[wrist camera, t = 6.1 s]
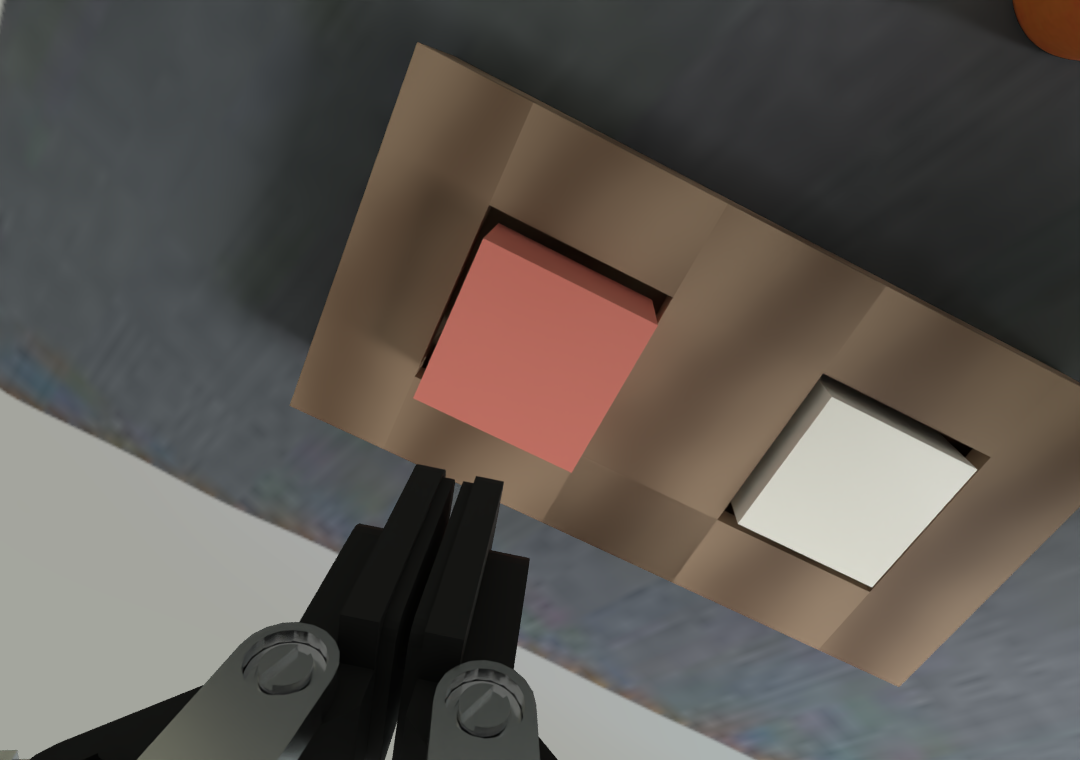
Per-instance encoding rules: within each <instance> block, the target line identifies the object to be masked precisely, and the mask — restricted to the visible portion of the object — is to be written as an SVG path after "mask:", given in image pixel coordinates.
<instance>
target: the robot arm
mask: <svg viewBox="0 0 1080 760" xmlns="http://www.w3.org/2000/svg"><path fill="white" fill-rule="evenodd" d="M503 485H504V481H499V480H494V479H490V478H485V477H480V476H476V477H475V480H474V483H471V482H466V481H463V483H462V486H461V489H460V492H459V494H458V497H457V500H456V503H455V505H454V508H453V511H452V514H451V517H450V512H451V505H452V499H453V492H454V486H455V479H451V478H446V470H445V469H440V468H435V467H430V466H426V465H421V464H417V465H416V466H415V468H414V470H413V472H412V474H411V476H410V478H409V480H408V482H407V484H406V486H405V488H404V490H403V492H402V493H401V495H400V497H399V499H398V501H397V503H396V505H395V507H394V509H393V511H392V513H391V515H390V517H389V519H388V521H387V523H386V525H385V527H384V528H379V527H374V526H369V525H364V524H358V525H356V526H355V528H354V529H353V531H352V532H351V534H350V536H349V538H348V539H347V541H346V543H345V544H344V546H343V548H342V550H341V551H340V553H339V555H338V556H337V558H336V560H335V562H334V563H333V565H332V567H331V569H330V570H329V572H328V574H327V575H326V577H325V579H324V581H323V582H322V584H321V586H320V587H319V589H318V591H317V593H316V595H315V596H314V598H313V599H312V601H311V603H310V605H309V606H308V608H307V610H306V612H305V613H304V615H303V617H302V618H301V620H300V622H294V623H293V622H291V623H280V624H277V625H273V626H269V627H266V628H264V629H262V630H260V631H258V632H256V633H254V634H252V635H251V636H250V637H249V638H247V639H246V640H245V641H244V642H243V643H242V644H240V645H239V646H238V648H237V649H236V650H235V651H234V652H233V653H232V654H231V655H230V656H229V658H228V659H227V660H226V661H225V662H224V663H223V664H222V665H221V667H220V668H219V669H218V670H217V671H216V672H215V673H214V674H213V675H212V676H211V678H210V679H209V680H208V681H207V682H206V683H205V684H204V685H202V686H200V687H197V688H195V689H193V690H190V691H188V692H185V693H182V694H180V695H177V696H175V697H173V698H170V699H167V700H165V701H163V702H160V703H157V704H155V705H152V706H150V707H148V708H145V709H142V710H140V711H138V712H135V713H132V714H130V715H127V716H125V717H123V718H120V719H118V720H115V721H113V722H110V723H107V724H105V725H102V726H100V727H97V728H95V729H92V730H90V731H88V732H85V733H83V734H80V735H77V736H75V737H73V738H70V739H67V740H65V741H63V742H60V743H58V744H56V745H54V746H52V747H50V748H48V749H46V750H44V751H42V752H40V753H38V754H36V755H35V756H34V757H32V758H31V759H19V756H18V751H17V750H2V751H0V760H385V757H386V754H387V751H388V748H389V745H390V742H391V739H392V736H393V732H394V729H395V726H396V723H397V728H396V735H395V743H394V750H393V758H392V760H557V758H556V757H555V756H554V755H553V754H552V752H551V751H550V750H549V749H548V748H547V746H546V745H545V744H544V743H543V741H542V740H541V739H540V738H539V737H538V724H537V710H536V702H535V698H534V695H533V691H532V690H531V688H530V687H529V685H528V683H527V682H526V680H525V679H524V678H523V677H522V676H521V675H519V674H518V673H517V672H516V671H515V670H514V663H515V656H516V649H517V643H518V636H519V629H520V622H521V616H522V609H523V602H524V595H525V588H526V582H527V575H528V568H529V561H530V558H526V557H521V556H516V555H511V554H507V553H502V552H497V551H492V550H491V548H492V543H493V538H494V533H495V528H496V522H497V517H498V512H499V507H500V501H501V496H502V491H503ZM449 518H450V519H449ZM397 720H398V721H397Z"/></svg>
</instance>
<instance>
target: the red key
mask: <svg viewBox="0 0 1080 760" xmlns="http://www.w3.org/2000/svg"><path fill="white" fill-rule="evenodd" d="M657 326H658V323H657V319H656V315H655V310H654V306H653V302H652V300H651V299H649V298H647V297H645V296H643V295H641V294H639V293H637V292H635V291H633V290H631V289H629V288H627V287H625V286H623V285H621V284H619V283H617V282H615V281H613V280H611V279H609V278H607V277H605V276H603V275H601V274H599V273H597V272H595V271H593V270H591V269H589V268H587V267H585V266H583V265H581V264H579V263H577V262H575V261H573V260H571V259H569V258H567V257H565V256H563V255H562V254H560V253H558V252H556V251H554V250H552V249H550V248H548V247H546V246H544V245H542V244H540V243H538V242H536V241H534V240H532V239H530V238H528V237H526V236H524V235H522V234H520V233H518V232H516V231H514V230H512V229H510V228H508V227H506V226H504V225H502V224H500V223H498V224H497V225H496V226H495V227H494V228H493V229H492V230H491V231H490V232H489V233H488V234H487V235H486V236H485V237H484V238H483V240H482V242H481V245H480V247H479V249H478V252H477V254H476V256H475V258H474V261H473V263H472V265H471V268H470V270H469V272H468V274H467V277H466V279H465V281H464V283H463V286H462V288H461V290H460V293H459V295H458V297H457V299H456V302H455V304H454V306H453V309H452V311H451V313H450V315H449V318H448V320H447V322H446V324H445V327H444V329H443V331H442V334H441V336H440V338H439V340H438V343H437V345H436V347H435V350H434V352H433V354H432V356H431V359H430V361H429V363H428V365H427V368H426V370H425V372H424V375H423V377H422V379H421V381H420V384H419V386H418V388H417V391H416V393H415V395H414V397H413V398H414V399H416V400H418V401H420V402H422V403H424V404H426V405H428V406H431V407H433V408H435V409H437V410H439V411H441V412H443V413H445V414H448V415H450V416H452V417H454V418H456V419H458V420H460V421H462V422H465V423H467V424H469V425H471V426H473V427H475V428H477V429H479V430H482V431H484V432H486V433H488V434H490V435H492V436H494V437H496V438H499V439H501V440H503V441H505V442H507V443H509V444H511V445H513V446H516V447H518V448H520V449H522V450H524V451H526V452H528V453H530V454H533V455H535V456H537V457H539V458H541V459H543V460H545V461H547V462H550V463H552V464H554V465H556V466H558V467H560V468H562V469H564V470H567V471H569V472H571V473H572V471H573V470H574V468H575V466H576V464H577V463H578V461H579V459H580V458H581V456H582V454H583V453H584V451H585V449H586V447H587V446H588V444H589V442H590V441H591V439H592V437H593V435H594V434H595V432H596V430H597V429H598V427H599V425H600V423H601V422H602V420H603V418H604V417H605V415H606V413H607V412H608V410H609V408H610V406H611V405H612V403H613V401H614V400H615V398H616V396H617V394H618V393H619V391H620V389H621V388H622V386H623V384H624V383H625V381H626V379H627V377H628V376H629V374H630V372H631V371H632V369H633V367H634V365H635V364H636V362H637V360H638V359H639V357H640V355H641V353H642V352H643V350H644V348H645V347H646V345H647V343H648V342H649V340H650V338H651V336H652V335H653V333H654V331H655V330H656V328H657Z"/></svg>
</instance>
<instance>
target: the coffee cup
mask: <svg viewBox="0 0 1080 760" xmlns="http://www.w3.org/2000/svg"><path fill="white" fill-rule="evenodd" d="M1013 6H1014V11H1015V14H1016V17H1017V20H1018V22H1019V24H1020V26H1021V28H1022V30H1023V31H1024V33H1025V34H1026V35H1027V37H1028V38H1029V39H1030V40H1031V41H1032V42H1033V43H1034V44H1035V45H1036V46H1038V47H1039V48H1041V49H1042V50H1044V51H1046V52H1047V53H1050V54H1052V55H1054V56H1058V57H1061V58H1065V59H1070V60H1079V61H1080V0H1013Z"/></svg>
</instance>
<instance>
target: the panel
mask: <svg viewBox="0 0 1080 760" xmlns="http://www.w3.org/2000/svg"><path fill="white" fill-rule="evenodd" d="M498 223H500V224H502V225H504V226H506V227H508V228H510V229H512V230H514V231H516V232H518V233H520V234H522V235H524V236H526V237H528V238H530V239H532V240H534V241H536V242H538V243H540V244H542V245H544V246H546V247H548V248H550V249H552V250H554V251H556V252H558V253H560V254H562V255H563V256H565V257H567V258H569V259H571V260H573V261H575V262H577V263H579V264H581V265H583V266H585V267H587V268H589V269H591V270H593V271H595V272H597V273H599V274H601V275H603V276H605V277H607V278H609V279H611V280H613V281H615V282H617V283H619V284H621V285H623V286H625V287H627V288H629V289H631V290H633V291H635V292H637V293H639V294H641V295H643V296H645V297H647V298H649V299H651V300H652V302H653V306H654V310H655V315H656V319H657V323H658V326H657V328H656V330H655V331H654V333H653V335H652V336H651V338H650V340H649V342H648V343H647V345H646V347H645V348H644V350H643V352H642V353H641V355H640V357H639V359H638V360H637V362H636V364H635V365H634V367H633V369H632V371H631V372H630V374H629V376H628V377H627V379H626V381H625V383H624V384H623V386H622V388H621V389H620V391H619V393H618V394H617V396H616V398H615V400H614V401H613V403H612V405H611V406H610V408H609V410H608V412H607V413H606V415H605V417H604V418H603V420H602V422H601V423H600V425H599V427H598V429H597V430H596V432H595V434H594V435H593V437H592V439H591V441H590V442H589V444H588V446H587V447H586V449H585V451H584V453H583V454H582V456H581V458H580V459H579V461H578V463H577V464H576V466H575V468H574V470H573V471H572V473H571V472H569V471H567V470H564V469H562V468H560V467H558V466H556V465H554V464H552V463H550V462H547V461H545V460H543V459H541V458H539V457H537V456H535V455H533V454H530V453H528V452H526V451H524V450H522V449H520V448H518V447H516V446H513V445H511V444H509V443H507V442H505V441H503V440H501V439H499V438H496V437H494V436H492V435H490V434H488V433H486V432H484V431H482V430H479V429H477V428H475V427H473V426H471V425H469V424H467V423H465V422H462V421H460V420H458V419H456V418H454V417H452V416H450V415H448V414H445V413H443V412H441V411H439V410H437V409H435V408H433V407H431V406H428V405H426V404H424V403H422V402H420V401H418V400H416V399H414V398H413V397H414V395H415V393H416V391H417V388H418V386H419V384H420V381H421V379H422V377H423V375H424V372H425V370H426V368H427V365H428V363H429V361H430V359H431V356H432V354H433V352H434V350H435V347H436V345H437V343H438V340H439V338H440V336H441V334H442V331H443V329H444V327H445V324H446V322H447V320H448V318H449V315H450V313H451V311H452V309H453V306H454V304H455V302H456V299H457V297H458V295H459V293H460V290H461V288H462V286H463V283H464V281H465V279H466V277H467V274H468V272H469V270H470V268H471V265H472V263H473V261H474V258H475V256H476V254H477V252H478V249H479V247H480V245H481V242H482V240H483V238H484V237H485V236H486V235H487V234H488V233H489V232H490V231H491V230H492V229H493V228H494V227H495V226H496V225H497V224H498ZM822 374H824V375H826V376H828V377H830V378H832V379H834V380H836V381H838V382H840V383H842V384H844V385H846V386H848V387H850V388H852V389H854V390H856V391H858V392H860V393H862V394H864V395H866V396H868V397H870V398H872V399H874V400H876V401H878V402H880V403H882V404H884V405H886V406H888V407H890V408H892V409H894V410H896V411H898V412H900V413H902V414H904V415H906V416H908V417H910V418H912V419H914V420H916V421H918V422H920V423H922V424H924V425H926V426H928V427H930V428H932V429H934V430H936V431H938V432H939V433H940V434H941V435H942V436H943V437H944V438H945V439H946V440H947V441H948V442H949V443H950V444H951V445H952V446H953V447H955V448H956V449H957V450H958V451H959V452H960V453H961V454H962V455H963V456H964V457H965V458H966V459H967V460H968V461H969V462H970V463H971V464H972V465H973V466H974V467H975V468H976V469H977V471H976V472H975V473H974V474H973V475H972V476H971V477H970V479H969V480H968V481H967V482H966V483H965V484H964V485H963V486H962V487H961V489H960V490H959V491H958V492H957V493H956V494H955V495H954V496H953V498H952V499H951V500H950V501H949V502H948V503H947V504H946V505H945V506H944V508H943V509H942V510H941V511H940V512H939V513H938V514H937V515H936V517H935V518H934V519H933V520H932V521H931V522H930V523H929V524H928V525H927V527H926V528H925V529H924V530H923V531H922V532H921V533H920V534H919V536H918V537H917V538H916V539H915V540H914V541H913V542H912V543H911V544H910V546H909V547H908V548H907V549H906V550H905V551H904V552H903V553H902V555H901V556H900V557H899V558H898V559H897V560H896V561H895V562H894V563H893V565H892V566H891V567H890V568H889V569H888V570H887V571H886V572H885V574H884V575H883V576H882V577H881V578H880V579H879V580H878V581H877V582H876V584H875V585H874V586H873V587H870V586H868V585H866V584H864V583H862V582H859V581H857V580H855V579H853V578H851V577H849V576H847V575H845V574H843V573H841V572H838V571H836V570H834V569H832V568H830V567H828V566H826V565H824V564H822V563H819V562H817V561H815V560H813V559H811V558H809V557H807V556H805V555H803V554H800V553H798V552H796V551H794V550H792V549H790V548H788V547H786V546H784V545H782V544H779V543H777V542H775V541H773V540H771V539H769V538H767V537H765V536H763V535H760V534H758V533H756V532H754V531H752V530H750V529H748V528H746V527H744V526H741V525H739V524H738V523H737V520H736V516H735V513H734V510H733V507H732V504H731V500H732V499H733V497H734V496H735V495H736V493H737V492H738V490H739V489H740V488H741V486H742V485H743V484H744V482H745V481H746V479H747V478H748V477H749V475H750V474H751V472H752V471H753V470H754V468H755V467H756V466H757V464H758V463H759V461H760V460H761V459H762V457H763V456H764V455H765V453H766V452H767V450H768V449H769V448H770V446H771V445H772V443H773V442H774V441H775V439H776V438H777V437H778V435H779V434H780V432H781V431H782V430H783V428H784V427H785V425H786V424H787V423H788V421H789V420H790V419H791V417H792V416H793V414H794V413H795V412H796V410H797V409H798V408H799V406H800V405H801V403H802V402H803V401H804V399H805V398H806V396H807V395H808V394H809V392H810V391H811V390H812V388H813V387H814V385H815V384H816V383H817V381H818V380H819V378H820V377H821V376H822ZM290 406H291V407H294V408H296V409H298V410H300V411H302V412H304V413H307V414H309V415H311V416H313V417H315V418H317V419H320V420H322V421H324V422H326V423H328V424H330V425H333V426H335V427H337V428H339V429H341V430H343V431H346V432H348V433H350V434H352V435H354V436H356V437H359V438H361V439H363V440H365V441H367V442H369V443H372V444H374V445H376V446H378V447H380V448H382V449H385V450H387V451H389V452H391V453H393V454H395V455H397V456H400V457H402V458H404V459H406V460H408V461H410V462H413V463H415V464H421V465H426V466H430V467H435V468H440V469H445V470H446V478H451V479H455V482H456V483H458V484H460V485H462V483H463V481H466V482H471V483H474V480H475V477H476V476H480V477H485V478H490V479H494V480H499V481H504V485H503V491H502V496H501V501H500V503H501V504H504V505H506V506H508V507H510V508H512V509H514V510H517V511H519V512H521V513H523V514H525V515H527V516H530V517H532V518H534V519H536V520H538V521H540V522H543V523H545V524H547V525H549V526H551V527H553V528H556V529H558V530H560V531H562V532H564V533H566V534H569V535H571V536H573V537H575V538H577V539H579V540H582V541H584V542H586V543H588V544H590V545H592V546H595V547H597V548H599V549H601V550H603V551H605V552H608V553H610V554H612V555H614V556H616V557H618V558H621V559H623V560H625V561H627V562H629V563H631V564H634V565H636V566H638V567H640V568H642V569H644V570H647V571H649V572H651V573H653V574H655V575H657V576H660V577H662V578H664V579H666V580H668V581H670V582H673V583H675V584H677V585H679V586H681V587H683V588H686V589H688V590H690V591H692V592H694V593H696V594H699V595H701V596H703V597H705V598H707V599H709V600H712V601H714V602H716V603H718V604H720V605H722V606H725V607H727V608H729V609H731V610H733V611H735V612H738V613H740V614H742V615H744V616H746V617H748V618H751V619H753V620H755V621H757V622H759V623H761V624H764V625H766V626H768V627H770V628H772V629H774V630H777V631H779V632H781V633H783V634H785V635H787V636H790V637H792V638H794V639H796V640H798V641H800V642H803V643H805V644H807V645H809V646H811V647H813V648H816V649H818V650H820V651H822V652H824V653H826V654H829V655H831V656H833V657H835V658H837V659H839V660H841V661H844V662H846V663H848V664H850V665H852V666H854V667H857V668H859V669H861V670H863V671H865V672H867V673H870V674H872V675H874V676H876V677H878V678H880V679H883V680H885V681H887V682H889V683H891V684H893V685H896V686H898V687H900V686H901V685H902V684H903V683H904V682H905V681H906V680H907V679H908V678H909V677H910V676H911V675H912V674H913V673H914V672H915V671H916V670H917V669H918V668H919V667H920V666H921V665H922V664H923V663H924V662H925V661H926V660H927V659H928V658H929V657H930V656H931V655H932V654H933V653H934V652H935V651H936V650H937V649H938V648H939V647H940V646H941V645H942V644H943V643H944V642H945V641H946V640H947V639H948V638H949V637H950V636H951V635H952V634H953V633H954V632H955V631H956V630H957V629H958V628H959V627H960V626H961V625H962V624H963V623H964V622H965V621H966V620H967V619H968V618H969V617H970V616H971V615H972V614H973V613H974V612H975V611H976V610H977V609H978V608H979V607H980V606H981V605H982V604H983V603H984V602H985V601H986V600H987V599H988V598H989V597H990V596H991V595H992V594H993V593H994V592H995V591H996V590H997V589H998V588H999V587H1000V586H1001V585H1002V584H1003V583H1004V582H1005V581H1006V580H1007V579H1008V578H1009V577H1010V576H1011V575H1012V574H1013V573H1014V572H1015V571H1016V570H1017V569H1018V568H1019V567H1020V566H1021V565H1022V564H1023V563H1024V562H1025V561H1026V560H1027V559H1028V558H1029V557H1030V556H1031V555H1032V554H1033V553H1034V552H1035V551H1036V550H1037V549H1038V548H1039V547H1040V546H1041V545H1042V544H1043V543H1044V542H1045V541H1046V540H1047V539H1048V538H1049V537H1050V536H1051V535H1052V534H1053V533H1054V532H1055V531H1056V530H1057V529H1058V528H1059V527H1060V526H1061V525H1062V524H1063V523H1064V522H1065V521H1066V520H1067V519H1068V518H1069V517H1070V516H1071V515H1072V514H1073V513H1074V512H1075V511H1076V510H1077V509H1078V508H1079V507H1080V383H1079V382H1078V381H1076V380H1074V379H1072V378H1071V377H1069V376H1067V375H1065V374H1063V373H1062V372H1060V371H1058V370H1056V369H1054V368H1052V367H1050V366H1048V365H1046V364H1044V363H1042V362H1040V361H1038V360H1037V359H1035V358H1033V357H1031V356H1029V355H1027V354H1025V353H1023V352H1021V351H1019V350H1017V349H1015V348H1014V347H1012V346H1010V345H1008V344H1006V343H1004V342H1002V341H1000V340H998V339H996V338H994V337H992V336H990V335H989V334H987V333H985V332H983V331H981V330H979V329H977V328H975V327H973V326H971V325H969V324H967V323H966V322H964V321H962V320H960V319H958V318H956V317H954V316H952V315H950V314H948V313H946V312H944V311H942V310H941V309H939V308H937V307H935V306H933V305H931V304H929V303H927V302H925V301H923V300H921V299H919V298H918V297H916V296H914V295H912V294H910V293H908V292H906V291H904V290H902V289H900V288H898V287H896V286H894V285H893V284H891V283H889V282H887V281H885V280H883V279H881V278H879V277H877V276H875V275H873V274H871V273H870V272H868V271H866V270H864V269H862V268H860V267H858V266H856V265H854V264H852V263H850V262H848V261H846V260H845V259H843V258H841V257H839V256H837V255H835V254H833V253H831V252H829V251H827V250H825V249H823V248H822V247H820V246H818V245H816V244H814V243H812V242H810V241H808V240H806V239H804V238H802V237H800V236H798V235H797V234H795V233H793V232H791V231H789V230H787V229H785V228H783V227H781V226H779V225H777V224H775V223H774V222H772V221H770V220H768V219H766V218H764V217H762V216H760V215H758V214H756V213H754V212H752V211H750V210H749V209H747V208H745V207H743V206H741V205H739V204H737V203H735V202H733V201H731V200H729V199H727V198H726V197H724V196H722V195H720V194H718V193H716V192H714V191H712V190H710V189H708V188H706V187H704V186H702V185H701V184H699V183H697V182H695V181H693V180H691V179H689V178H687V177H685V176H683V175H681V174H679V173H678V172H676V171H674V170H672V169H670V168H668V167H666V166H664V165H662V164H660V163H658V162H656V161H655V160H653V159H651V158H649V157H647V156H645V155H643V154H641V153H639V152H637V151H635V150H633V149H631V148H630V147H628V146H626V145H624V144H622V143H620V142H618V141H616V140H614V139H612V138H610V137H608V136H607V135H605V134H603V133H601V132H599V131H597V130H595V129H593V128H591V127H589V126H587V125H585V124H583V123H582V122H580V121H578V120H576V119H574V118H572V117H570V116H568V115H566V114H564V113H562V112H560V111H559V110H557V109H555V108H553V107H551V106H549V105H547V104H545V103H543V102H541V101H539V100H537V99H535V98H534V97H532V96H530V95H528V94H526V93H524V92H522V91H520V90H518V89H516V88H514V87H512V86H511V85H509V84H507V83H505V82H503V81H501V80H499V79H497V78H495V77H493V76H491V75H489V74H487V73H486V72H484V71H482V70H480V69H478V68H476V67H474V66H472V65H470V64H468V63H466V62H464V61H463V60H461V59H459V58H457V57H455V56H453V55H450V54H448V53H445V52H442V51H440V50H437V49H434V48H432V47H429V46H426V45H424V44H421V43H418V42H417V44H416V47H415V50H414V53H413V56H412V58H411V61H410V64H409V67H408V70H407V73H406V76H405V78H404V81H403V84H402V87H401V90H400V93H399V95H398V98H397V101H396V104H395V107H394V110H393V113H392V115H391V118H390V121H389V124H388V127H387V130H386V133H385V135H384V138H383V141H382V144H381V147H380V150H379V152H378V155H377V158H376V161H375V164H374V167H373V170H372V172H371V175H370V178H369V181H368V184H367V187H366V189H365V192H364V195H363V198H362V201H361V204H360V207H359V209H358V212H357V215H356V218H355V221H354V224H353V227H352V229H351V232H350V235H349V238H348V241H347V244H346V246H345V249H344V252H343V255H342V258H341V261H340V264H339V266H338V269H337V272H336V275H335V278H334V281H333V283H332V286H331V289H330V292H329V295H328V298H327V301H326V303H325V306H324V309H323V312H322V315H321V318H320V320H319V323H318V326H317V329H316V332H315V335H314V338H313V340H312V343H311V346H310V349H309V352H308V355H307V358H306V360H305V363H304V366H303V369H302V372H301V375H300V377H299V380H298V383H297V386H296V389H295V392H294V395H293V397H292V400H291V403H290Z"/></svg>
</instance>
